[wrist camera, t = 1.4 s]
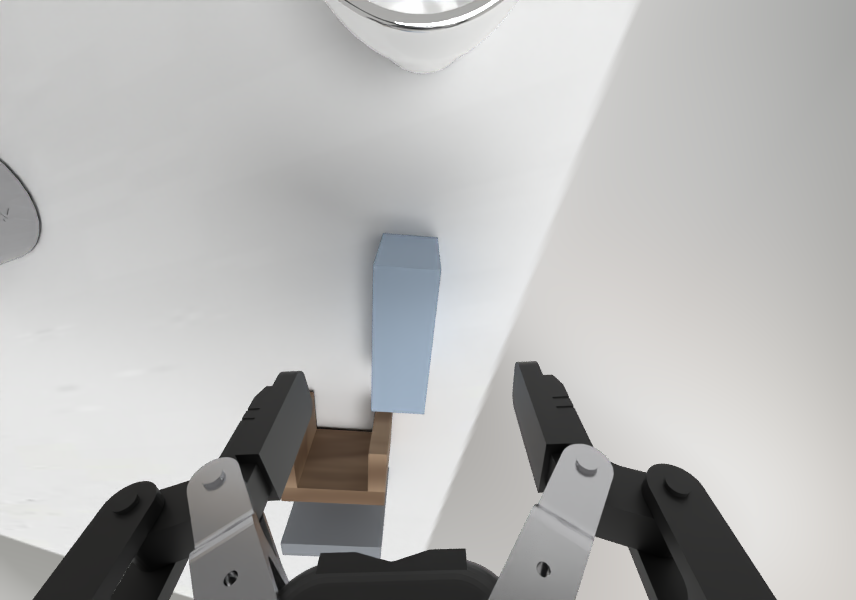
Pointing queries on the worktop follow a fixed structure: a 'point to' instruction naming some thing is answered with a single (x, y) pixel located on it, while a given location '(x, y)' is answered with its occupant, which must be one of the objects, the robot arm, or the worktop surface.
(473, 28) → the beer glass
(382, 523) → the wall
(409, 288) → the peg
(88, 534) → the robot arm
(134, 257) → the worktop surface
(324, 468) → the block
